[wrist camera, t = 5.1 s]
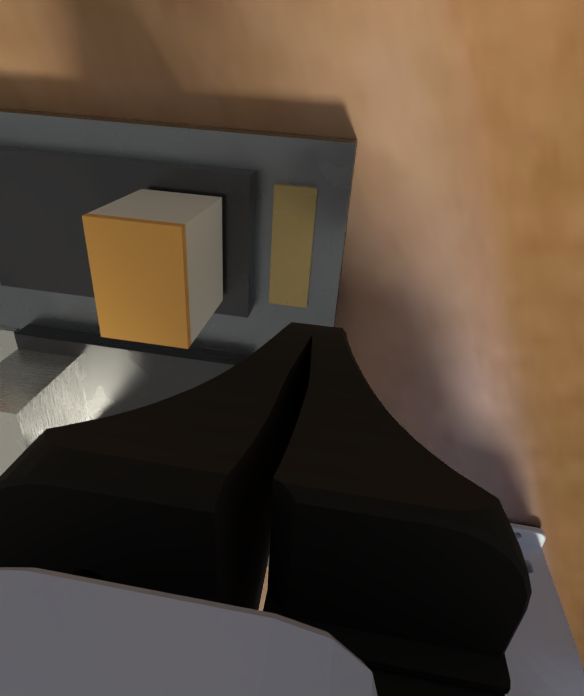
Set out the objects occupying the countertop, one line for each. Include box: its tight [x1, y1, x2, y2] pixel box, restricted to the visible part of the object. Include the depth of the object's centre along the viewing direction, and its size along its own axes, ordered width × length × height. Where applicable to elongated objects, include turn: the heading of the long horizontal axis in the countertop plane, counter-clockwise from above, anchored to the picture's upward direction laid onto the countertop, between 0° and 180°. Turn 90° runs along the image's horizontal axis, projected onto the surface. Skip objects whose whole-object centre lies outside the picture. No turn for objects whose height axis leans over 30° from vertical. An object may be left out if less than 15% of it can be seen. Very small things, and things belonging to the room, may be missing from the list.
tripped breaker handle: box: [82, 189, 223, 349], centre depth 16 cm, size 3×4×4 cm
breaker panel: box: [0, 108, 357, 566], centre depth 21 cm, size 18×24×6 cm
